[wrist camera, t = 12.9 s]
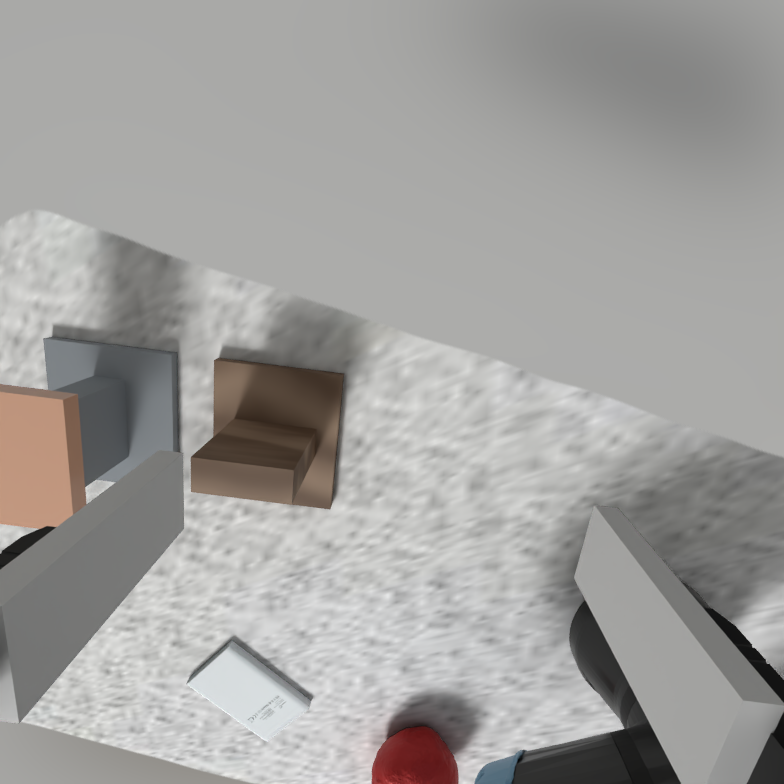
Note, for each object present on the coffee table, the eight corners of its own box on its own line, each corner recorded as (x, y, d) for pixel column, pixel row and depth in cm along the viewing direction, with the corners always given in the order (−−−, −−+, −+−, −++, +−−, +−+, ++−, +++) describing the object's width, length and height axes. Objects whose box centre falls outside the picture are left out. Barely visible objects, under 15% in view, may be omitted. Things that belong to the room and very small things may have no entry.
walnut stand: (331, 504, 47) (311, 566, 37) (216, 489, 47) (167, 548, 37) (344, 373, 43) (325, 405, 33) (218, 357, 43) (163, 385, 33)
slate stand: (178, 484, 47) (119, 542, 37) (63, 470, 47) (-26, 524, 37) (176, 352, 43) (109, 378, 33) (51, 336, 43) (-52, 358, 33)
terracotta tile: (77, 393, 34) (63, 399, 32) (87, 522, 37) (74, 533, 35) (-16, 382, 34) (-35, 387, 32) (2, 511, 37) (-15, 522, 35)
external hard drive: (233, 635, 53) (312, 697, 55) (191, 673, 55) (269, 731, 57) (228, 647, 51) (309, 709, 53) (184, 685, 53) (265, 744, 55)
